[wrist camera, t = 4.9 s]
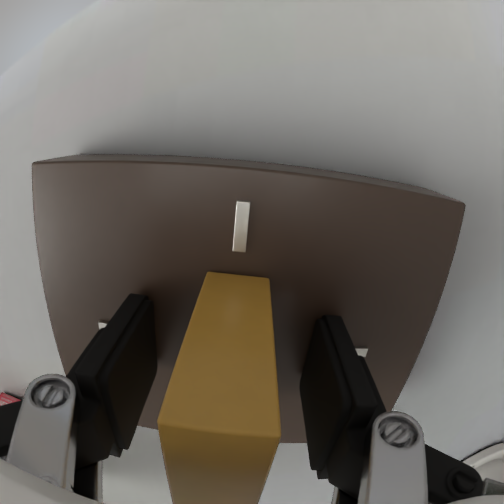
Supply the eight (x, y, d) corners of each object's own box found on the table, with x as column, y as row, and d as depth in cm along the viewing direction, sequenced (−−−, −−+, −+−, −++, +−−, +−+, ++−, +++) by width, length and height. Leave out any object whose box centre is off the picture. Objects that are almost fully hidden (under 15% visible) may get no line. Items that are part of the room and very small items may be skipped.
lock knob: (207, 270, 9) (151, 433, 4) (269, 277, 9) (283, 449, 4) (201, 393, 11) (176, 533, 5) (250, 398, 11) (246, 540, 5)
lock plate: (424, 187, 11) (469, 204, 8) (361, 397, 15) (376, 442, 12) (75, 154, 11) (28, 162, 8) (99, 372, 14) (76, 412, 11)
